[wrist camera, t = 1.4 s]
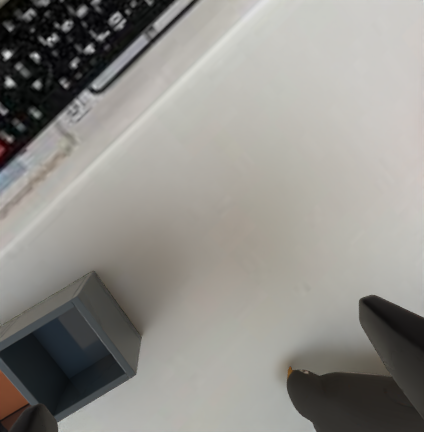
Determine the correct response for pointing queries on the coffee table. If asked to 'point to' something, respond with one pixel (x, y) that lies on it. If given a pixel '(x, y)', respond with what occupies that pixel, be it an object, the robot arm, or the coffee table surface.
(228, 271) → the coffee table surface
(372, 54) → the coffee table surface
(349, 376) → the figurine
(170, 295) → the coffee table surface
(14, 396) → the tray
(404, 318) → the robot arm
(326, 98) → the coffee table surface
